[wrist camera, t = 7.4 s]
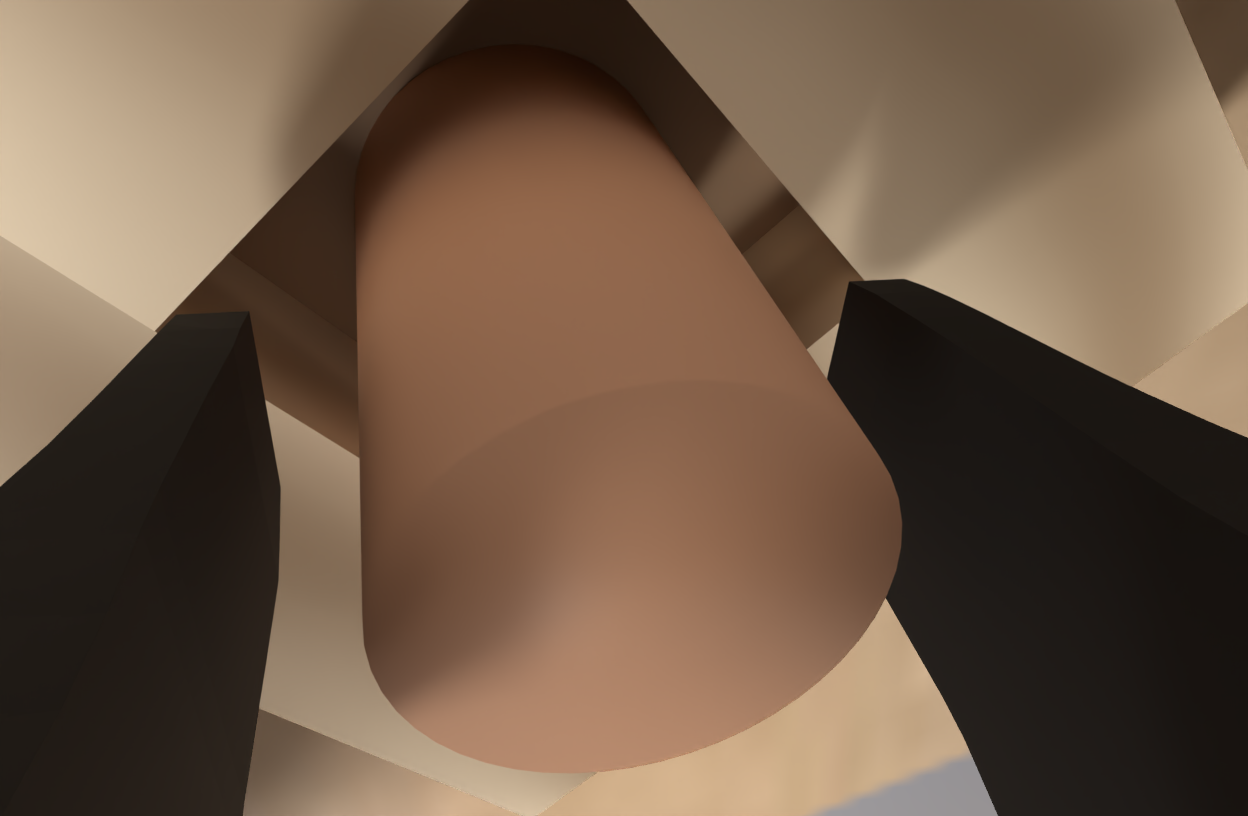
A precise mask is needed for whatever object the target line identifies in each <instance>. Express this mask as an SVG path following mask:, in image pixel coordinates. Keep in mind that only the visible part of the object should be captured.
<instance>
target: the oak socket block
mask: <svg viewBox="0 0 1248 816" xmlns="http://www.w3.org/2000/svg"><path fill="white" fill-rule="evenodd" d="M506 44H523V45H537V46H542V47H548V48H553V49H557V50H560V51H563V52H566V53H569V54H572V55H575V56H578V57H580V58H582V59H584V60H586V61H588V62H590V63H592V64H594V65H596V66H598V67H599V68H600V69H602V70H603V71H605V72H606V73H608V74H609V75H611V76H612V77H614V78H615V79H616V80H617V81H618V82H619V83H620V84H621V85H622V86H623V87H625V88H626V89H627V90H628V91H629V92H630V94H631V95H632V96H633V97H634V99H635V100H636V101H637V102H638V103H639V105H640V106H641V107H642V109H643V110H644V112H645V113H646V114H647V116H648V117H649V119H650V120H651V122H652V123H653V125H654V126H655V128H656V129H657V131H658V132H659V134H660V135H661V136H662V138H663V139H664V141H665V142H666V144H667V145H668V147H669V148H670V150H671V151H672V153H673V154H674V156H675V157H676V158H677V160H678V161H679V163H680V164H681V166H682V167H683V169H684V170H685V172H686V173H687V175H688V176H689V178H690V179H691V180H692V182H693V183H694V185H695V186H696V188H697V189H698V191H699V192H700V194H701V195H702V197H703V198H704V200H705V201H706V202H707V204H708V205H709V207H710V208H711V210H712V211H713V213H714V214H715V216H716V217H717V219H718V220H719V222H720V223H721V225H722V226H723V227H724V229H725V230H726V232H727V233H728V235H729V236H730V238H731V239H732V241H733V242H734V244H735V245H736V247H737V248H738V249H739V251H740V252H741V254H742V255H743V257H744V258H745V260H746V261H747V263H748V264H749V266H750V267H751V269H752V270H753V271H754V273H755V274H756V276H757V277H758V279H759V280H760V282H761V283H762V285H763V286H764V288H765V289H766V291H767V292H768V293H769V295H770V296H771V298H772V299H773V301H774V302H775V304H776V305H777V307H778V308H779V310H780V311H781V313H782V314H783V315H784V317H785V318H786V320H787V321H788V323H789V324H790V326H791V327H792V329H793V330H794V332H795V333H796V335H797V336H798V337H799V339H800V340H801V342H802V343H803V345H804V346H805V348H806V349H807V351H808V352H809V354H810V355H811V357H812V358H813V359H814V361H815V362H816V364H817V365H818V367H819V368H820V370H821V371H822V373H823V374H824V376H825V377H826V379H827V375H828V371H829V366H830V362H831V358H832V353H833V349H834V345H835V340H836V336H837V331H838V327H839V323H840V318H841V314H842V310H843V305H844V301H845V296H846V292H847V288H848V283H849V281H868V280H888V279H907V280H909V281H912V282H915V283H918V284H921V285H923V286H926V287H928V288H931V289H933V290H935V291H938V292H940V293H942V294H944V295H947V296H949V297H951V298H953V299H955V300H957V301H960V302H962V303H964V304H966V305H968V306H970V307H972V308H974V309H976V310H978V311H980V312H982V313H984V314H986V315H988V316H990V317H992V318H994V319H996V320H998V321H1000V322H1002V323H1004V324H1006V325H1008V326H1010V327H1012V328H1014V329H1016V330H1018V331H1020V332H1022V333H1024V334H1026V335H1028V336H1030V337H1032V338H1034V339H1036V340H1038V341H1040V342H1042V343H1044V344H1046V345H1048V346H1050V347H1052V348H1054V349H1056V350H1058V351H1060V352H1062V353H1064V354H1066V355H1068V356H1070V357H1072V358H1074V359H1076V360H1078V361H1080V362H1082V363H1084V364H1086V365H1088V366H1090V367H1092V368H1094V369H1096V370H1098V371H1100V372H1102V373H1104V374H1106V375H1108V376H1110V377H1112V378H1115V379H1117V380H1119V381H1121V382H1123V383H1125V384H1127V385H1129V386H1131V387H1132V386H1134V385H1135V384H1137V383H1138V382H1139V381H1141V380H1142V379H1143V378H1145V377H1146V376H1148V375H1149V374H1150V373H1152V372H1153V371H1155V370H1156V369H1157V368H1159V367H1160V366H1161V365H1163V364H1164V363H1166V362H1167V361H1168V360H1170V359H1171V358H1173V357H1174V356H1175V355H1177V354H1178V353H1179V352H1181V351H1182V350H1184V349H1185V348H1186V347H1188V346H1189V345H1191V344H1192V343H1193V342H1195V341H1196V340H1198V339H1199V338H1200V337H1202V336H1203V335H1204V334H1206V333H1207V332H1209V331H1210V330H1211V329H1213V328H1214V327H1216V326H1217V325H1218V324H1220V323H1221V322H1222V321H1224V320H1225V319H1227V318H1228V317H1229V316H1231V315H1232V314H1234V313H1235V312H1236V311H1238V310H1239V309H1240V308H1242V307H1243V306H1245V305H1246V304H1247V303H1248V169H1247V166H1246V164H1245V162H1244V159H1243V157H1242V155H1241V152H1240V150H1239V148H1238V145H1237V143H1236V141H1235V138H1234V136H1233V134H1232V132H1231V129H1230V127H1229V125H1228V122H1227V120H1226V118H1225V115H1224V113H1223V111H1222V108H1221V106H1220V104H1219V101H1218V99H1217V97H1216V94H1215V92H1214V90H1213V87H1212V85H1211V83H1210V80H1209V78H1208V76H1207V73H1206V71H1205V69H1204V66H1203V64H1202V62H1201V59H1200V57H1199V55H1198V52H1197V50H1196V48H1195V46H1194V43H1193V41H1192V39H1191V36H1190V34H1189V32H1188V29H1187V27H1186V25H1185V22H1184V20H1183V18H1182V15H1181V13H1180V11H1179V8H1178V6H1177V4H1176V1H1175V0H0V486H1V485H2V484H4V483H5V482H6V481H7V480H8V479H9V478H10V477H12V476H13V475H14V474H15V473H16V472H17V471H18V470H19V469H21V468H22V467H23V466H24V465H25V464H26V463H27V462H28V461H30V460H31V459H32V458H33V457H34V456H35V455H36V454H38V453H39V452H40V451H41V450H42V449H43V448H44V447H45V446H47V445H48V444H49V443H50V442H51V441H52V440H53V439H54V438H55V437H56V436H57V435H58V434H59V433H60V432H61V431H62V430H63V429H64V428H65V427H66V426H67V425H68V424H69V423H70V422H71V421H72V420H73V419H74V418H75V417H76V416H77V415H78V414H79V413H80V412H81V411H82V410H83V409H84V408H85V407H86V406H87V405H88V404H89V403H90V402H91V401H92V400H93V399H94V398H95V397H96V396H97V395H98V394H99V393H100V392H101V391H102V390H103V389H104V388H105V387H106V386H107V385H108V384H109V383H110V382H111V381H112V380H113V379H114V378H115V376H116V375H117V374H118V373H119V372H120V371H121V370H122V369H123V368H124V367H125V366H126V365H127V364H128V363H129V362H130V361H131V360H132V359H133V358H134V357H135V356H136V355H137V354H138V353H139V352H140V350H141V349H142V348H143V347H144V346H145V345H146V344H147V343H148V342H149V341H150V340H151V339H152V338H153V337H154V336H155V335H156V334H157V333H158V332H159V331H160V330H161V329H162V328H163V327H164V326H165V325H166V324H167V323H168V322H169V321H170V320H171V319H172V318H173V317H174V316H175V315H178V314H199V313H219V312H239V311H249V312H250V318H251V324H252V329H253V335H254V340H255V346H256V352H257V357H258V363H259V368H260V374H261V380H262V385H263V391H264V396H265V402H266V408H267V413H268V419H269V424H270V430H271V436H272V441H273V447H274V452H275V458H276V464H277V469H278V475H279V480H280V486H281V503H280V552H279V581H278V588H277V595H276V602H275V609H274V615H273V622H272V628H271V635H270V642H269V648H268V655H267V661H266V667H265V674H264V680H263V686H262V693H261V699H260V705H259V709H261V710H264V711H266V712H269V713H271V714H273V715H276V716H278V717H281V718H283V719H286V720H288V721H291V722H293V723H295V724H298V725H300V726H303V727H305V728H308V729H310V730H313V731H315V732H317V733H320V734H322V735H325V736H327V737H330V738H332V739H335V740H337V741H340V742H342V743H344V744H347V745H349V746H352V747H354V748H357V749H359V750H362V751H364V752H366V753H369V754H371V755H374V756H376V757H379V758H381V759H384V760H386V761H388V762H391V763H393V764H396V765H398V766H401V767H403V768H406V769H408V770H411V771H413V772H415V773H418V774H420V775H423V776H425V777H428V778H430V779H433V780H435V781H437V782H440V783H442V784H445V785H447V786H450V787H452V788H455V789H457V790H459V791H462V792H464V793H467V794H469V795H472V796H474V797H477V798H479V799H482V800H484V801H486V802H489V803H491V804H494V805H496V806H499V807H501V808H504V809H506V810H508V811H511V812H513V813H516V814H518V815H521V816H538V815H539V814H540V813H542V812H543V811H545V810H546V809H547V808H549V807H550V806H551V805H553V804H554V803H556V802H557V801H558V800H560V799H561V798H563V797H564V796H565V795H567V794H568V793H569V792H571V791H572V790H574V789H575V788H576V787H578V786H579V785H581V784H582V783H583V782H585V781H586V780H588V779H589V778H590V777H592V776H593V775H594V774H596V773H597V772H589V773H541V772H533V771H525V770H516V769H511V768H506V767H502V766H497V765H493V764H488V763H484V762H482V761H479V760H476V759H473V758H470V757H467V756H464V755H461V754H459V753H457V752H455V751H452V750H450V749H448V748H446V747H444V746H442V745H440V744H438V743H436V742H435V741H433V740H432V739H430V738H429V737H427V736H426V735H424V734H423V733H421V732H420V731H418V730H417V729H415V728H414V727H413V726H412V725H411V724H410V723H409V722H407V721H406V720H405V719H404V718H403V717H402V716H401V715H400V714H399V713H398V712H397V711H396V710H395V709H394V707H393V706H392V705H391V704H390V702H389V701H388V700H387V698H386V697H385V696H384V694H383V693H382V692H381V690H380V688H379V686H378V684H377V682H376V680H375V678H374V676H373V674H372V672H371V670H370V666H369V662H368V659H367V655H366V651H365V648H364V639H363V623H362V575H361V520H360V464H359V409H358V353H357V298H356V242H355V182H356V172H357V168H358V164H359V160H360V155H361V152H362V149H363V147H364V144H365V142H366V139H367V137H368V134H369V132H370V130H371V129H372V127H373V125H374V123H375V122H376V120H377V118H378V117H379V115H380V113H381V112H382V111H383V110H384V108H385V107H386V106H387V105H388V103H389V102H390V101H391V100H392V98H393V97H394V96H395V95H396V94H397V93H398V92H399V91H400V90H401V89H403V88H404V87H405V86H406V85H407V84H408V83H409V82H410V81H411V80H413V79H414V78H416V77H417V76H418V75H420V74H421V73H423V72H424V71H425V70H427V69H428V68H430V67H432V66H434V65H436V64H438V63H440V62H442V61H443V60H445V59H447V58H450V57H453V56H455V55H458V54H461V53H464V52H466V51H470V50H474V49H478V48H483V47H487V46H495V45H506Z"/></svg>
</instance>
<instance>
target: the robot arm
mask: <svg viewBox="0 0 1248 816" xmlns="http://www.w3.org/2000/svg"><path fill="white" fill-rule="evenodd" d="M827 380H828V381H829V383H830V384H831V386H832V387H833V389H834V390H835V392H836V393H837V395H838V396H839V398H840V399H841V401H842V402H843V403H844V405H845V406H846V408H847V409H848V411H849V412H850V414H851V415H852V417H853V418H854V420H855V421H856V423H857V424H858V425H859V427H860V428H861V430H862V431H863V433H864V434H865V436H866V437H867V439H868V440H869V442H870V443H871V445H872V446H873V448H874V449H875V450H876V452H877V453H878V455H879V457H880V458H881V460H882V462H883V463H884V465H885V467H886V469H887V470H888V472H889V474H890V475H891V478H892V481H893V484H894V487H895V490H896V492H897V495H898V498H899V504H900V511H901V518H902V537H901V550H900V554H899V559H898V564H897V569H896V572H895V575H894V578H893V580H892V583H891V586H890V588H889V591H888V594H887V596H886V599H887V601H888V603H889V604H890V606H891V608H892V610H893V611H894V613H895V615H896V617H897V618H898V620H899V622H900V624H901V625H902V627H903V629H904V630H905V632H906V634H907V636H908V637H909V639H910V641H911V643H912V644H913V646H914V648H915V650H916V651H917V653H918V655H919V657H920V658H921V660H922V662H923V664H924V665H925V667H926V669H927V671H928V672H929V674H930V676H931V677H932V679H933V681H934V683H935V684H936V686H937V688H938V690H939V691H940V693H941V695H942V697H943V699H944V700H945V702H946V704H947V706H948V708H949V710H950V712H951V714H952V716H953V718H954V720H955V722H956V724H957V726H958V728H959V729H960V731H961V733H962V735H963V737H964V739H965V741H966V744H967V746H968V748H969V751H970V753H971V755H972V757H973V760H974V762H975V764H976V766H977V768H978V771H979V773H980V775H981V778H982V780H983V782H984V785H985V787H986V789H987V791H988V794H989V796H990V798H991V801H992V803H993V805H994V807H995V810H996V812H997V814H998V816H1248V438H1247V437H1245V436H1242V435H1240V434H1237V433H1235V432H1232V431H1230V430H1228V429H1225V428H1223V427H1220V426H1218V425H1216V424H1213V423H1211V422H1208V421H1206V420H1204V419H1202V418H1200V417H1197V416H1195V415H1193V414H1191V413H1188V412H1186V411H1184V410H1182V409H1180V408H1177V407H1175V406H1173V405H1171V404H1168V403H1166V402H1164V401H1162V400H1159V399H1157V398H1155V397H1153V396H1151V395H1148V394H1146V393H1144V392H1142V391H1140V390H1138V389H1135V388H1133V387H1131V386H1129V385H1127V384H1125V383H1123V382H1121V381H1119V380H1117V379H1115V378H1112V377H1110V376H1108V375H1106V374H1104V373H1102V372H1100V371H1098V370H1096V369H1094V368H1092V367H1090V366H1088V365H1086V364H1084V363H1082V362H1080V361H1078V360H1076V359H1074V358H1072V357H1070V356H1068V355H1066V354H1064V353H1062V352H1060V351H1058V350H1056V349H1054V348H1052V347H1050V346H1048V345H1046V344H1044V343H1042V342H1040V341H1038V340H1036V339H1034V338H1032V337H1030V336H1028V335H1026V334H1024V333H1022V332H1020V331H1018V330H1016V329H1014V328H1012V327H1010V326H1008V325H1006V324H1004V323H1002V322H1000V321H998V320H996V319H994V318H992V317H990V316H988V315H986V314H984V313H982V312H980V311H978V310H976V309H974V308H972V307H970V306H968V305H966V304H964V303H962V302H960V301H957V300H955V299H953V298H951V297H949V296H947V295H944V294H942V293H940V292H938V291H935V290H933V289H931V288H928V287H926V286H923V285H921V284H918V283H915V282H912V281H909V280H907V279H888V280H868V281H849V283H848V288H847V292H846V296H845V301H844V305H843V310H842V314H841V318H840V323H839V327H838V331H837V336H836V340H835V345H834V349H833V353H832V358H831V362H830V366H829V371H828V375H827ZM280 503H281V486H280V480H279V475H278V469H277V464H276V458H275V452H274V447H273V441H272V436H271V430H270V424H269V419H268V413H267V408H266V402H265V396H264V391H263V385H262V380H261V374H260V368H259V363H258V357H257V352H256V346H255V340H254V335H253V329H252V324H251V318H250V312H249V311H239V312H219V313H199V314H178V315H175V316H174V317H173V318H172V319H171V320H170V321H169V322H168V323H167V324H166V325H165V326H164V327H163V328H162V329H161V330H160V331H159V332H158V333H157V334H156V335H155V336H154V337H153V338H152V339H151V340H150V341H149V342H148V343H147V344H146V345H145V346H144V347H143V348H142V349H141V350H140V352H139V353H138V354H137V355H136V356H135V357H134V358H133V359H132V360H131V361H130V362H129V363H128V364H127V365H126V366H125V367H124V368H123V369H122V370H121V371H120V372H119V373H118V374H117V375H116V376H115V378H114V379H113V380H112V381H111V382H110V383H109V384H108V385H107V386H106V387H105V388H104V389H103V390H102V391H101V392H100V393H99V394H98V395H97V396H96V397H95V398H94V399H93V400H92V401H91V402H90V403H89V404H88V405H87V406H86V407H85V408H84V409H83V410H82V411H81V412H80V413H79V414H78V415H77V416H76V417H75V418H74V419H73V420H72V421H71V422H70V423H69V424H68V425H67V426H66V427H65V428H64V429H63V430H62V431H61V432H60V433H59V434H58V435H57V436H56V437H55V438H54V439H53V440H52V441H51V442H50V443H49V444H48V445H47V446H45V447H44V448H43V449H42V450H41V451H40V452H39V453H38V454H36V455H35V456H34V457H33V458H32V459H31V460H30V461H28V462H27V463H26V464H25V465H24V466H23V467H22V468H21V469H19V470H18V471H17V472H16V473H15V474H14V475H13V476H12V477H10V478H9V479H8V480H7V481H6V482H5V483H4V484H2V485H1V486H0V816H243V808H244V800H245V794H246V787H247V781H248V775H249V768H250V762H251V756H252V749H253V743H254V737H255V730H256V724H257V718H258V711H259V705H260V699H261V693H262V686H263V680H264V674H265V667H266V661H267V655H268V648H269V642H270V635H271V628H272V622H273V615H274V609H275V602H276V595H277V588H278V581H279V552H280Z"/></svg>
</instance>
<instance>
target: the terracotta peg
mask: <svg viewBox="0 0 1248 816" xmlns="http://www.w3.org/2000/svg"><path fill="white" fill-rule="evenodd" d="M355 242H356V298H357V353H358V409H359V464H360V520H361V575H362V623H363V639H364V648H365V651H366V655H367V659H368V662H369V666H370V670H371V672H372V674H373V676H374V678H375V680H376V682H377V684H378V686H379V688H380V690H381V692H382V693H383V694H384V696H385V697H386V698H387V700H388V701H389V702H390V704H391V705H392V706H393V707H394V709H395V710H396V711H397V712H398V713H399V714H400V715H401V716H402V717H403V718H404V719H405V720H406V721H407V722H409V723H410V724H411V725H412V726H413V727H414V728H415V729H417V730H418V731H420V732H421V733H423V734H424V735H426V736H427V737H429V738H430V739H432V740H433V741H435V742H436V743H438V744H440V745H442V746H444V747H446V748H448V749H450V750H452V751H455V752H457V753H459V754H461V755H464V756H467V757H470V758H473V759H476V760H479V761H482V762H484V763H488V764H493V765H497V766H502V767H506V768H511V769H516V770H525V771H533V772H541V773H589V772H604V771H611V770H619V769H626V768H633V767H637V766H642V765H647V764H652V763H656V762H661V761H664V760H668V759H671V758H675V757H678V756H681V755H685V754H688V753H691V752H694V751H697V750H699V749H702V748H705V747H707V746H710V745H713V744H716V743H718V742H721V741H723V740H725V739H727V738H729V737H731V736H734V735H736V734H738V733H740V732H742V731H744V730H747V729H748V728H750V727H752V726H754V725H756V724H757V723H759V722H761V721H763V720H765V719H766V718H768V717H770V716H772V715H773V714H775V713H776V712H778V711H779V710H781V709H782V708H784V707H785V706H787V705H788V704H790V703H791V702H793V701H794V700H796V699H798V698H799V697H800V696H801V695H803V694H804V693H805V692H806V691H808V690H809V689H810V688H811V687H813V686H814V685H815V684H816V683H818V682H819V681H820V680H821V679H822V678H823V677H825V676H826V675H827V674H828V673H829V672H830V671H831V670H832V669H833V668H834V667H835V666H836V665H837V664H838V663H839V662H840V661H841V660H842V659H843V658H844V657H845V656H846V655H847V653H848V652H849V651H850V650H851V649H852V648H853V647H854V645H855V644H856V643H857V642H858V641H859V640H860V638H861V637H862V635H863V634H864V632H865V631H866V630H867V628H868V627H869V625H870V624H871V622H872V621H873V620H874V618H875V616H876V615H877V613H878V611H879V609H880V607H881V605H882V603H883V601H884V600H885V598H886V596H887V594H888V591H889V588H890V586H891V583H892V580H893V578H894V575H895V572H896V569H897V564H898V559H899V554H900V550H901V537H902V518H901V511H900V504H899V498H898V495H897V492H896V490H895V487H894V484H893V481H892V478H891V475H890V474H889V472H888V470H887V469H886V467H885V465H884V463H883V462H882V460H881V458H880V457H879V455H878V453H877V452H876V450H875V449H874V448H873V446H872V445H871V443H870V442H869V440H868V439H867V437H866V436H865V434H864V433H863V431H862V430H861V428H860V427H859V425H858V424H857V423H856V421H855V420H854V418H853V417H852V415H851V414H850V412H849V411H848V409H847V408H846V406H845V405H844V403H843V402H842V401H841V399H840V398H839V396H838V395H837V393H836V392H835V390H834V389H833V387H832V386H831V384H830V383H829V381H828V380H827V379H826V377H825V376H824V374H823V373H822V371H821V370H820V368H819V367H818V365H817V364H816V362H815V361H814V359H813V358H812V357H811V355H810V354H809V352H808V351H807V349H806V348H805V346H804V345H803V343H802V342H801V340H800V339H799V337H798V336H797V335H796V333H795V332H794V330H793V329H792V327H791V326H790V324H789V323H788V321H787V320H786V318H785V317H784V315H783V314H782V313H781V311H780V310H779V308H778V307H777V305H776V304H775V302H774V301H773V299H772V298H771V296H770V295H769V293H768V292H767V291H766V289H765V288H764V286H763V285H762V283H761V282H760V280H759V279H758V277H757V276H756V274H755V273H754V271H753V270H752V269H751V267H750V266H749V264H748V263H747V261H746V260H745V258H744V257H743V255H742V254H741V252H740V251H739V249H738V248H737V247H736V245H735V244H734V242H733V241H732V239H731V238H730V236H729V235H728V233H727V232H726V230H725V229H724V227H723V226H722V225H721V223H720V222H719V220H718V219H717V217H716V216H715V214H714V213H713V211H712V210H711V208H710V207H709V205H708V204H707V202H706V201H705V200H704V198H703V197H702V195H701V194H700V192H699V191H698V189H697V188H696V186H695V185H694V183H693V182H692V180H691V179H690V178H689V176H688V175H687V173H686V172H685V170H684V169H683V167H682V166H681V164H680V163H679V161H678V160H677V158H676V157H675V156H674V154H673V153H672V151H671V150H670V148H669V147H668V145H667V144H666V142H665V141H664V139H663V138H662V136H661V135H660V134H659V132H658V131H657V129H656V128H655V126H654V125H653V123H652V122H651V120H650V119H649V117H648V116H647V114H646V113H645V112H644V110H643V109H642V107H641V106H640V105H639V103H638V102H637V101H636V100H635V99H634V97H633V96H632V95H631V94H630V92H629V91H628V90H627V89H626V88H625V87H623V86H622V85H621V84H620V83H619V82H618V81H617V80H616V79H615V78H614V77H612V76H611V75H609V74H608V73H606V72H605V71H603V70H602V69H600V68H599V67H598V66H596V65H594V64H592V63H590V62H588V61H586V60H584V59H582V58H580V57H578V56H575V55H572V54H569V53H566V52H563V51H560V50H557V49H553V48H548V47H542V46H537V45H523V44H506V45H495V46H487V47H483V48H478V49H474V50H470V51H466V52H464V53H461V54H458V55H455V56H453V57H450V58H447V59H445V60H443V61H442V62H440V63H438V64H436V65H434V66H432V67H430V68H428V69H427V70H425V71H424V72H423V73H421V74H420V75H418V76H417V77H416V78H414V79H413V80H411V81H410V82H409V83H408V84H407V85H406V86H405V87H404V88H403V89H401V90H400V91H399V92H398V93H397V94H396V95H395V96H394V97H393V98H392V100H391V101H390V102H389V103H388V105H387V106H386V107H385V108H384V110H383V111H382V112H381V113H380V115H379V117H378V118H377V120H376V122H375V123H374V125H373V127H372V129H371V130H370V132H369V134H368V137H367V139H366V142H365V144H364V147H363V149H362V152H361V155H360V160H359V164H358V168H357V172H356V182H355Z"/></svg>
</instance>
